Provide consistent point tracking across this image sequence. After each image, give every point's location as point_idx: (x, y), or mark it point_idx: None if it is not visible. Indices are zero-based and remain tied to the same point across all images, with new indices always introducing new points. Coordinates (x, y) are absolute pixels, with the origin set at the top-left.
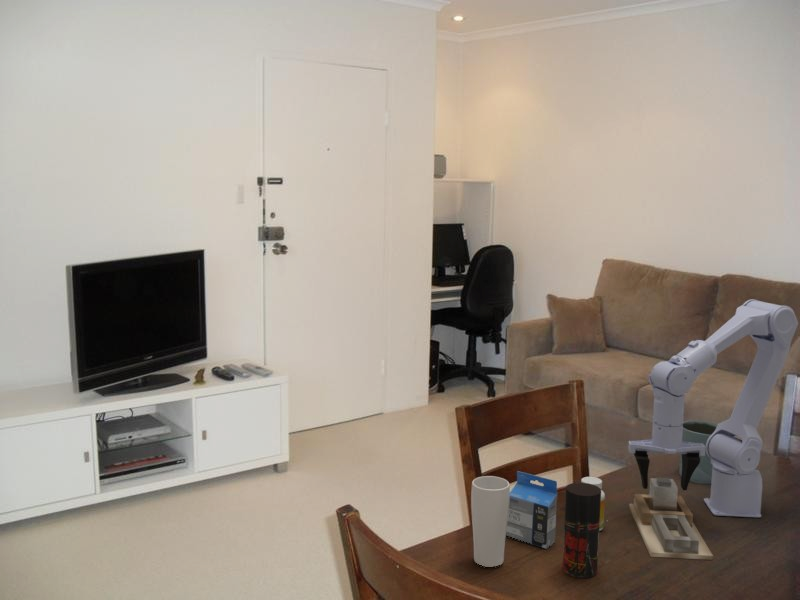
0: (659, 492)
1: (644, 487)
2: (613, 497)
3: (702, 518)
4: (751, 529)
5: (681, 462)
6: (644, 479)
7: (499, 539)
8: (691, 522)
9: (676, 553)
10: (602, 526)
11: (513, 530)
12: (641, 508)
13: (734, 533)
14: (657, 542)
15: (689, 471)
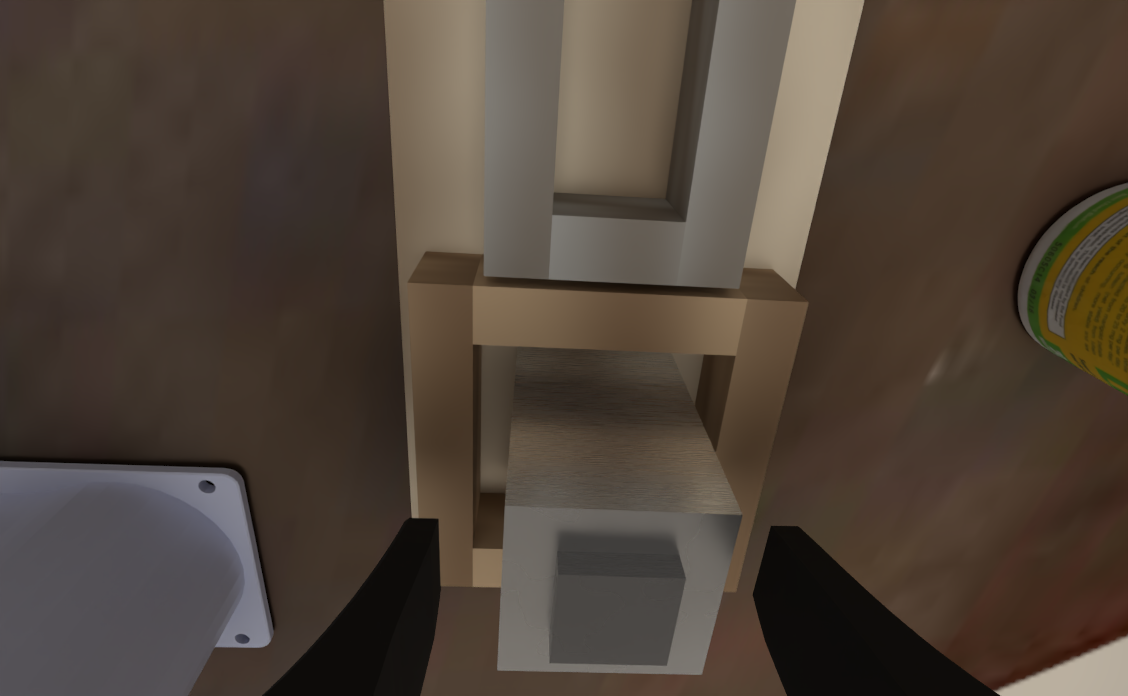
0: (677, 473)
1: (804, 532)
2: (762, 633)
3: (320, 433)
4: (7, 300)
5: None
6: (857, 588)
7: None
8: (426, 263)
9: None
10: (1072, 226)
11: None
12: (785, 381)
13: (131, 230)
14: None
15: (336, 682)
